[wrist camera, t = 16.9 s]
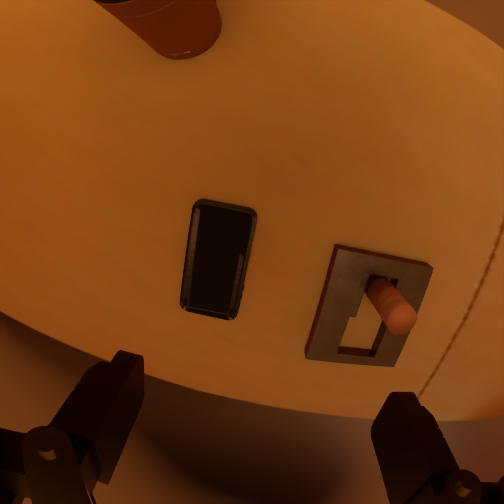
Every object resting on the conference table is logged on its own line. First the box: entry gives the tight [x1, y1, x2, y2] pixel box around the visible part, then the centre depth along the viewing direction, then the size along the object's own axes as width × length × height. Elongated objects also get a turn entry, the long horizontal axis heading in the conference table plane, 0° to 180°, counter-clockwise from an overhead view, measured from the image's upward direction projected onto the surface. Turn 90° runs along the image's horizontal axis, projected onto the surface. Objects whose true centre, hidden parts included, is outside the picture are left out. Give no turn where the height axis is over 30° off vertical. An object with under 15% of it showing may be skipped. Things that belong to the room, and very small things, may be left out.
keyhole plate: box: [305, 244, 434, 367], centre depth 40 cm, size 16×14×2 cm
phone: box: [180, 199, 257, 320], centre depth 40 cm, size 8×1×15 cm
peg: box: [364, 274, 417, 335], centre depth 35 cm, size 4×4×10 cm
